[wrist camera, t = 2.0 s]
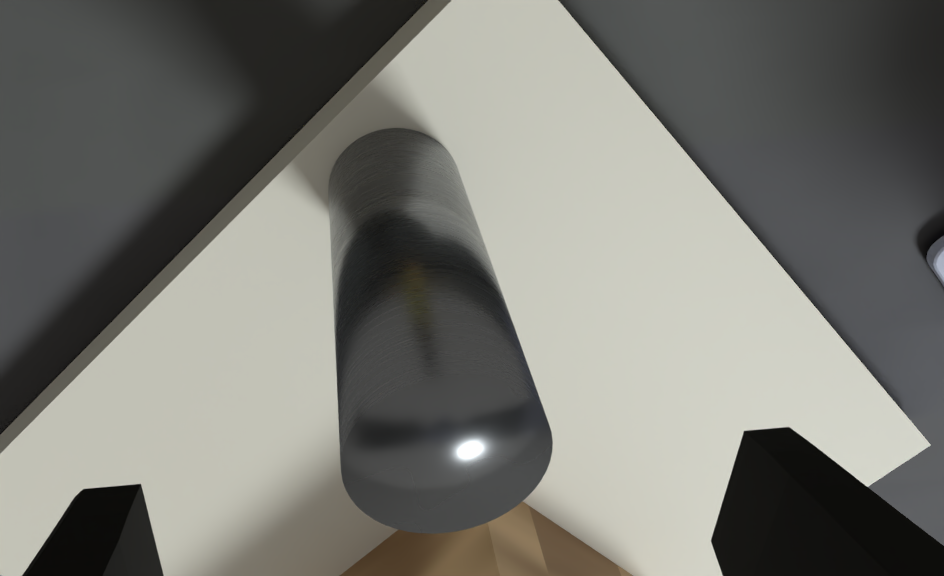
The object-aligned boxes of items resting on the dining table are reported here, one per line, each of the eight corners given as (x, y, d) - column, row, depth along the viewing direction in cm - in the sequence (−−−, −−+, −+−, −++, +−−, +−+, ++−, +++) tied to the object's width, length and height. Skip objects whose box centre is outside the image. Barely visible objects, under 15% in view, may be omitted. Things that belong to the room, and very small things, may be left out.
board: (497, -70, 16) (509, -58, 15) (907, 418, 26) (930, 445, 25) (-68, 503, 21) (-86, 540, 20) (451, 725, 31) (456, 757, 30)
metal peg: (394, 100, 16) (453, 339, 10) (487, 186, 18) (594, 448, 11) (299, 193, 17) (294, 474, 10) (395, 269, 18) (444, 560, 12)
